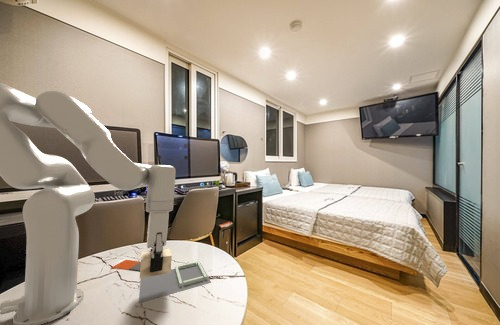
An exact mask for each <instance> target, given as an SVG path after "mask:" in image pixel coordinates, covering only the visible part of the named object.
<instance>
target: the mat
mask: <svg viewBox="0 0 500 325" xmlns="http://www.w3.org/2000/svg"><path fill="white" fill-rule="evenodd" d="M139 282H140V283H139V295H138V296H139V298H138V304H141V303H144V302H147V301H148V302H149V301H152V300H155V299H158V298H162V297H165V296H168V295H169V296H170V295H172V294H175V293H176V294H177V293H180V292H183V291H186V290H189V289H193V288H196V287H201V286H204V285H207V284H211V283H212V281H211V279H210V278H209V276H208V274H207V272H206V270H205V268H204V266H203V265H202V263H201V262H200V260H197V261H192V262H188V263H184V264H179V265H175V266H174V268H171V273H166V274H161V275H156V276H151V277H146V278H141V279H140V281H139Z"/></svg>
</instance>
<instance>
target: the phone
mask: <svg viewBox="0 0 500 325" xmlns="http://www.w3.org/2000/svg"><path fill="white" fill-rule="evenodd" d="M140 267H141V261H137V260H130V259H124V260H123V261H121V262H118V263H117V264H115V265H113V266H112V267H111V270H114V269H117V270H123V271H131V272H138V273H140Z"/></svg>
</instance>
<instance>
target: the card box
mask: <svg viewBox="0 0 500 325" xmlns="http://www.w3.org/2000/svg"><path fill="white" fill-rule="evenodd" d="M154 252H155V251H154ZM140 256H141V257H140V262H141V267H140V272H139V279H140V280H141V278H146V277H151V276H156V275H161V274H166V273H171V269H172V259H173V255H172V251H171V248H163V267H162V270H161V271H156V272H150V262H151V257H152V251H150V250H149V251H142V252H141V255H140Z"/></svg>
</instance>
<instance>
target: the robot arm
mask: <svg viewBox="0 0 500 325" xmlns="http://www.w3.org/2000/svg"><path fill="white" fill-rule="evenodd" d="M13 122H14V123H17V124H21V125H24V126H25V125H27V126H32V127H43V128H52V129H56V130H57V131H58V132H60V133H61V135H63V136H64V137H65V138H66V139H67V140H69V141H70V142H71V144H73V145H74V146H75V147H76V148H78V149H79V151H80V153H81V155H82V157H83V158H84V159H85V161H86V162H87V163H88V165H89V166H90V167H91V168H92V169H93V170H94V171H95V173H97V174H98V175H99V176H101V177H102V178H103V179H104V180H105V181H106V182H107V183H108V184H110V185H111V186H113V187H114V188H116V189H118V190H120V191H121V190H122V191H132V190H136V189H138V188H143V187H144V188H145V187H147V192H146V203H145V204H146V205H145V212H146V213H149V214H148V223H147V236H146V248H147V249H150V250H149V251H152V257H151V262H150V272H156V271H161V270H162V267H163V249H164V247H165V246H166V245H167V241H168V240H167V238H168V231H169V230H168V227H169V216H170V214H169V213H170V212H172V211H174V201H175V186H176V185H175V184H176V171H177V170H176V168H175V167H174V166H172V165H166V164H154V165H150V164H145V163H139V162H138V163H137V162H133V161H132V160H131V159H130V158H129V157H128V156H127V155H126V154H125V153H123V152H122V151H121V150H120V149H119V148H118V147H117V145H116V144H115V143H114V142H113V140H112V136H111V132H110V131H109V129H107V127H105V126H104V125H103V124H102V123H101V122H100V121H99V120H97V119H96V118H95V117H94V115H93V112H92V110H91V108H90V107H88V106H87V105H86V104H85V103H83V102H81V100H78V99H76V98H75V97H73V96H71V95H69V94H67V93H65V92H63V91H57V90H49V91H44V92H42V93H40V94H39V95H37V97H35V96H33V95H30V94H28V93H26V92H23V91H21V90H20V89H17V88H15V87H12V86H10V85H8V84H6V83H3V82H0V177H1V178H2V180H3V181H4V182H5V183H6V184H7V185H8V186H11V188H14V189H19V190H32V189H33V190H34V189H41V188H43V189H41V190H38V191H36V192H34V193H33V194H32V195H30V196H29V197H28V198H27V200H26V201H25V202H24V205H23V207H22V218H23V223H24V228H25V232H26V249H25V254H26V256H25V276H24V294H23V295H21V297H19V298H12V299H8V300H7V299H6V300H3V301H2V302H1V303H0V315H5V314H6V315H7V314H10V313H13V312H15V313H14V315H13V318H12V325H41V324H42V325H45V324H47V322H48V323H50V322H52V321H54V320H58V319H60V318H62V317H63V316H65V315H66V314H69V313H70V312H72V310H74V309H75V308H76V307H78V306H79V305H80V304H81V303H82V301H83V300H84V297H85V296H84V295H85V292H84V291H83V290H82V289H81V288H80V289H79V288H78V267H79V266H78V265H79V248H80V247H79V243H80V242H79V240H80V235H79V234H80V233H79V227H78V224H77V220H76V217H78V216H79V215H82V214H84V213H86V212H88V211H89V210H90V209H92V207H93V206H94V204H95V202H96V196H95V193H94V190H93V188H92V187H91V186H90V184H88V181H87V180H85V179H84V177H83V175H81V173H80V172H79V171H78V170H77V168H76V167H75V166H74V165H73V164H72V162H70V161H69V160H68V159H66V158H65V157H62V156H61V155H60V156H59V155H55V154H47V153H43V152H42V151H41V150H40V149H38V148H37V146H36V145H35V144H34V143H33V141H31V138H30V137H29V136H28V135H27V134H26V133H25V132H24V131H23V130H22V129H20V128H19V127H17V125H15V124H14V123H13ZM154 251H155V252H154ZM44 323H45V324H44Z"/></svg>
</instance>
